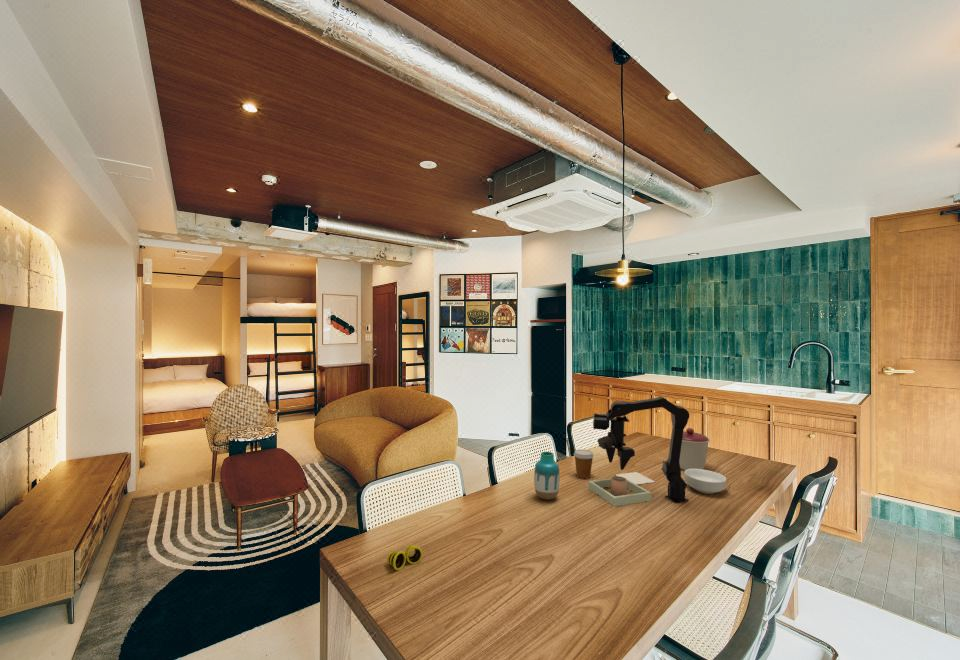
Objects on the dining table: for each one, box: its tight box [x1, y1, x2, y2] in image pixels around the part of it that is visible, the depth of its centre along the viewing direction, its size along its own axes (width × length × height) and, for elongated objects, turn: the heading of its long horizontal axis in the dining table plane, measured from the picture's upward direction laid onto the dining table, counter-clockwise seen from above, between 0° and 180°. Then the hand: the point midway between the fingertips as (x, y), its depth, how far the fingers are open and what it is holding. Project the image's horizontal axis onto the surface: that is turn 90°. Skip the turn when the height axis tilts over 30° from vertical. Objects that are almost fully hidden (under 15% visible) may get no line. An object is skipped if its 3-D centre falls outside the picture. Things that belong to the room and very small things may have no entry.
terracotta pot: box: [610, 475, 628, 496], centre depth 174 cm, size 6×6×7 cm
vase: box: [533, 451, 561, 501], centre depth 170 cm, size 11×11×19 cm
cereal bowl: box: [683, 469, 728, 495], centre depth 180 cm, size 17×17×7 cm
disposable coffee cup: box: [573, 448, 595, 479], centre depth 195 cm, size 10×10×12 cm
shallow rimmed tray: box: [588, 478, 652, 507], centre depth 174 cm, size 18×18×4 cm
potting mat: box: [615, 471, 656, 486], centre depth 193 cm, size 13×13×1 cm
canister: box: [670, 427, 711, 471], centre depth 208 cm, size 18×18×21 cm
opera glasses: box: [386, 544, 423, 571], centre depth 122 cm, size 10×5×5 cm, turn 127°
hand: (616, 466), depth 176 cm, fingers open, 9 cm apart
